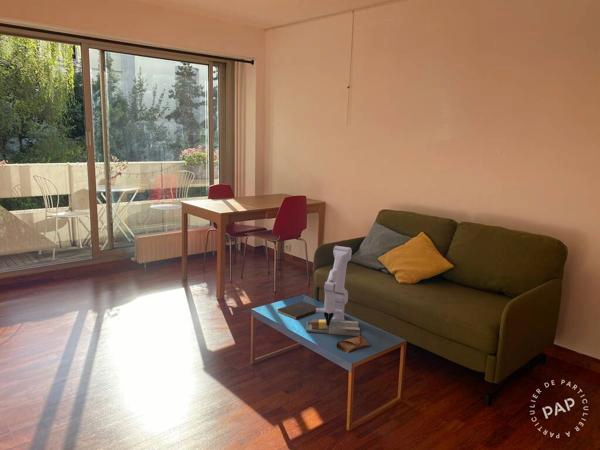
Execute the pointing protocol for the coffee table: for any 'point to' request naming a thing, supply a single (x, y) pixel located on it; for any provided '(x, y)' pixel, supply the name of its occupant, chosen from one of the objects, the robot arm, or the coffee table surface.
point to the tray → (309, 329)
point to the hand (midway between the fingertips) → (327, 325)
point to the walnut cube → (315, 324)
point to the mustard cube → (322, 324)
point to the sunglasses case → (352, 344)
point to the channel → (344, 327)
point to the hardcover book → (298, 310)
